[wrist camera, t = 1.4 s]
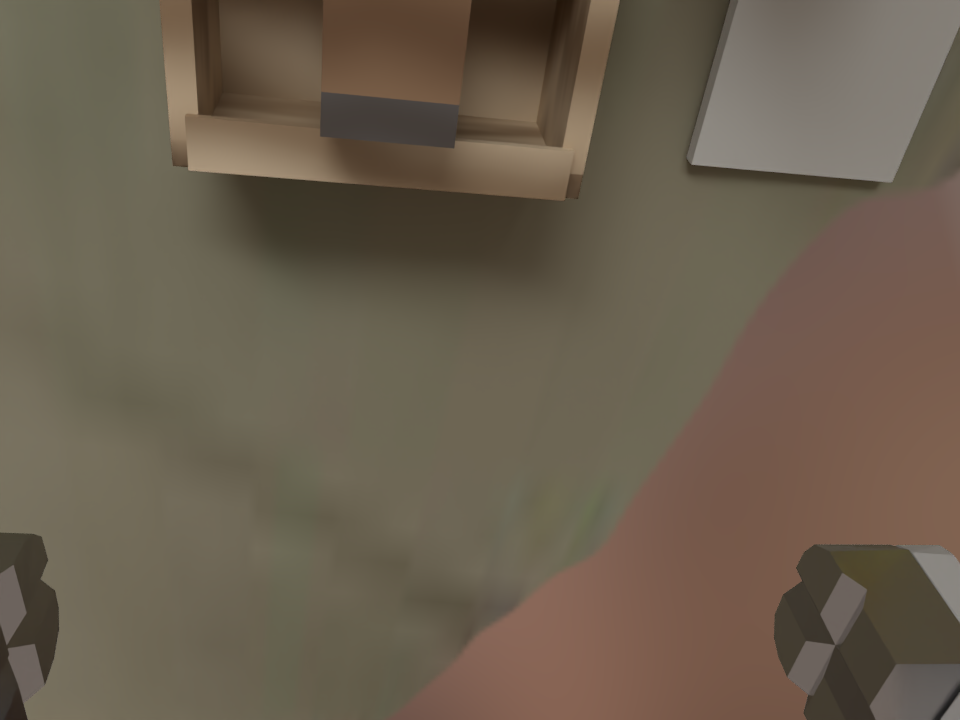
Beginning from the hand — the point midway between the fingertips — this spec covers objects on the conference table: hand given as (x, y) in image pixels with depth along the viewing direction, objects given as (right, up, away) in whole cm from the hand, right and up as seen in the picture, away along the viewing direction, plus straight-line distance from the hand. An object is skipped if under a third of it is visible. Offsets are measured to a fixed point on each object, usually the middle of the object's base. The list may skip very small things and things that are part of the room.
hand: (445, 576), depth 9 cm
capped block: (-3, +17, +24) cm, 30 cm away
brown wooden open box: (-3, +17, +24) cm, 30 cm away
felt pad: (+16, +16, +27) cm, 36 cm away
